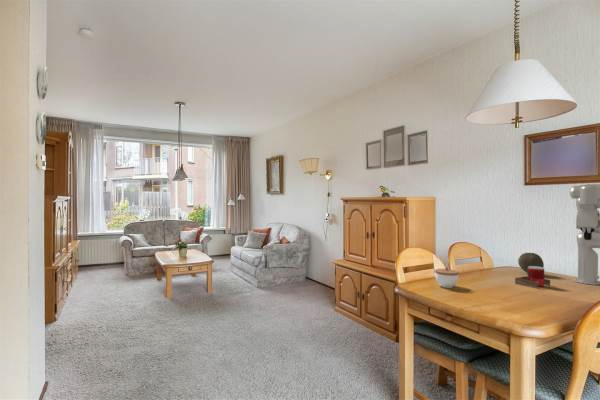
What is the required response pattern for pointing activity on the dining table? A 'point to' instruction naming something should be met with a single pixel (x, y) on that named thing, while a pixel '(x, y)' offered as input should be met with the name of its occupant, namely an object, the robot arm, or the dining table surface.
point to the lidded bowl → (446, 277)
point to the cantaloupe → (530, 261)
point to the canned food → (536, 275)
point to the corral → (529, 282)
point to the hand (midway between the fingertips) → (587, 239)
